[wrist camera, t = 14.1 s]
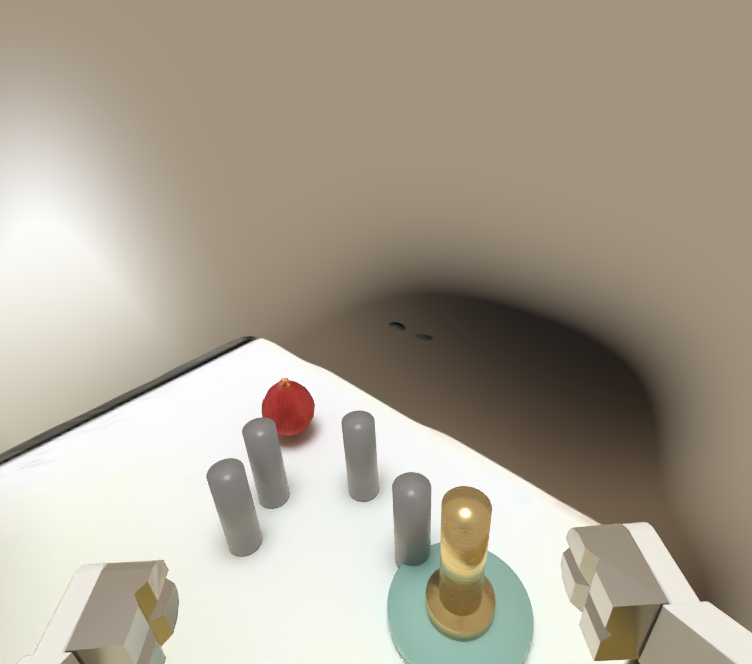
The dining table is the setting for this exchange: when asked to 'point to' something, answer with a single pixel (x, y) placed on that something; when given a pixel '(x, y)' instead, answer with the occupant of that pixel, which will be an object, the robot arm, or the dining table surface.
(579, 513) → the dining table surface
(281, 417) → the pomegranate
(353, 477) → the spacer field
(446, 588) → the bolt
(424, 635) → the saucer
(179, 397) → the dining table surface
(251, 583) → the dining table surface
